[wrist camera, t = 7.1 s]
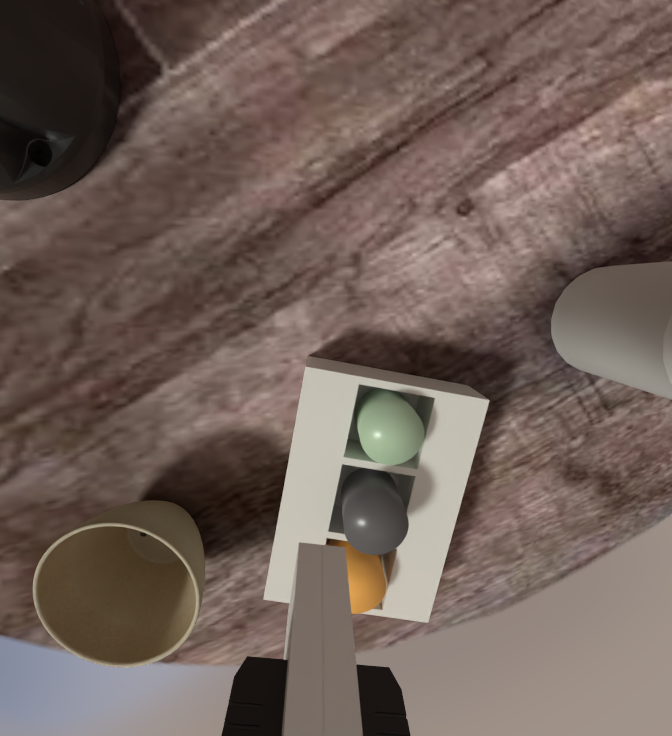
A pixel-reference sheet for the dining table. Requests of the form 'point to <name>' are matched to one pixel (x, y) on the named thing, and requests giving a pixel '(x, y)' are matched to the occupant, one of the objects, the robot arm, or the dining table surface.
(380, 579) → the orange rounded piece
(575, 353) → the can
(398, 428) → the green button
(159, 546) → the flower pot
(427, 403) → the white compartment box
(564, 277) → the dining table surface
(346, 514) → the black button
